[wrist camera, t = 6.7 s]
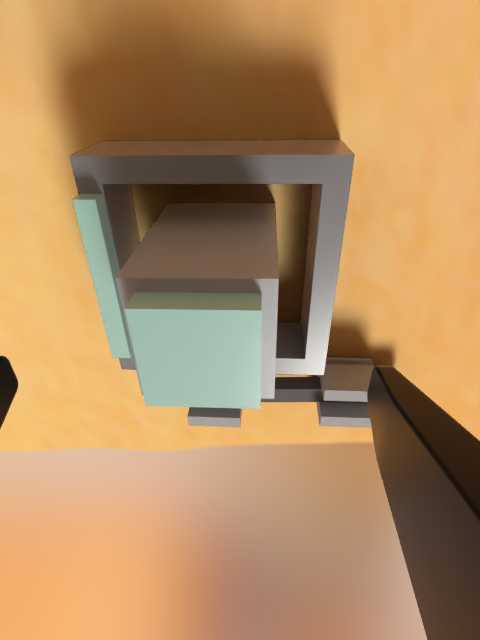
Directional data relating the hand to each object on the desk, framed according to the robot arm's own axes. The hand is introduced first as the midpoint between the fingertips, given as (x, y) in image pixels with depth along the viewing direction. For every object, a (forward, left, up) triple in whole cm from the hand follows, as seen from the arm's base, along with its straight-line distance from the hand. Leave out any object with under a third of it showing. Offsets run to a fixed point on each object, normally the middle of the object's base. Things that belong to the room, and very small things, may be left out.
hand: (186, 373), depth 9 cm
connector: (0, 0, -7) cm, 7 cm away
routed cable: (-3, +6, -7) cm, 10 cm away
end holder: (0, 0, -7) cm, 7 cm away
